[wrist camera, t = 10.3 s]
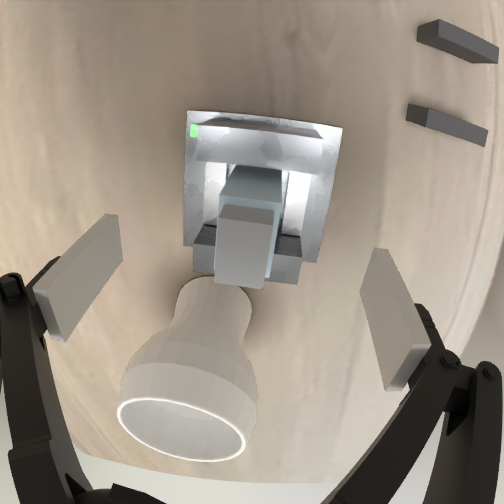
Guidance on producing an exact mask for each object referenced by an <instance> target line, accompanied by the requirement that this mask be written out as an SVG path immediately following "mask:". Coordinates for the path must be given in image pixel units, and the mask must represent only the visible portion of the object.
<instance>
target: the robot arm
mask: <svg viewBox="0 0 504 504" xmlns="http://www.w3.org/2000/svg"><path fill="white" fill-rule="evenodd" d="M122 261H123V256H122V248H121V240H120V231H119V221H118V215H111V214H105V215H104V216H103V217H102V218H101V219H100V220H98V221H97V222H96V223H95V224H94V225H93V226H92V227H91V228H90V229H89V230H88V231H87V232H86V233H85V234H84V235H83V236H82V237H81V238H79V239H78V240H77V241H76V242H75V243H74V244H73V245H72V246H71V247H70V248H69V249H68V250H67V251H66V252H65V253H64V254H63V255H62V256H58V257H56V258H54V259H53V260H51V261H49V262H48V264H47V265H46V266H45V267H44V269H42V270H41V271H40V272H39V274H37V275H36V276H35V277H34V278H33V279H32V280H31V281H30V282H29V283H28V284H27V286H26V287H25V286H24V283H23V280H22V277H21V275H20V274H18V273H8V274H6V275H3V276H2V277H0V392H1V385H2V379H3V384H4V393H5V401H6V409H7V416H8V422H9V428H10V433H11V438H12V443H13V449H12V450H9V452H8V458H9V464H10V469H11V473H12V477H13V480H14V484H15V488H16V491H17V494H18V498H19V501H20V504H166V503H164V502H162V501H160V500H158V499H156V498H154V497H152V496H150V495H148V494H146V493H144V492H140V491H137V490H134V489H130V488H127V487H124V486H121V485H118V484H114V483H113V485H112V488H111V489H97V490H93V488H92V486H91V484H90V483H89V481H88V480H87V478H86V476H85V475H84V473H83V471H82V469H81V466H80V463H79V461H78V458H77V455H76V453H75V450H74V448H73V444H72V441H71V438H70V435H69V432H68V429H67V426H66V423H65V420H64V416H63V413H62V410H61V406H60V403H59V399H58V395H57V391H56V387H55V383H54V379H53V375H52V370H51V366H50V361H49V356H48V351H47V346H46V340H45V338H44V336H43V334H44V333H45V331H46V330H47V329H48V332H49V334H50V337H51V339H54V340H57V341H60V342H63V343H65V342H66V341H67V339H68V338H69V336H70V334H71V333H72V331H73V330H74V328H75V327H76V325H77V324H78V322H79V321H80V319H81V318H82V316H83V315H84V314H85V312H86V311H87V309H88V308H89V306H90V305H91V303H92V302H93V301H94V299H95V298H96V296H97V295H98V293H99V292H100V291H101V289H102V288H103V286H104V285H105V284H106V282H107V281H108V280H109V278H110V277H111V275H112V274H113V273H114V271H115V270H116V269H117V267H118V266H119V265H120V263H121V262H122ZM360 295H361V298H362V302H363V305H364V309H365V312H366V316H367V320H368V323H369V327H370V331H371V335H372V339H373V343H374V347H375V351H376V355H377V359H378V363H379V367H380V372H381V376H382V381H383V385H384V390H385V391H402V390H403V388H404V387H405V385H406V384H407V382H408V385H409V388H410V390H409V392H408V393H407V395H406V396H405V397H404V399H403V400H402V401H401V403H400V404H399V407H398V408H397V410H396V411H395V413H394V414H393V416H392V417H391V419H390V420H389V421H388V423H387V424H386V426H385V427H384V428H383V430H382V431H381V433H380V434H379V435H378V437H377V438H376V439H375V441H374V442H373V443H372V445H371V446H370V447H369V448H368V450H367V451H366V452H365V453H364V455H363V456H362V457H361V458H360V460H359V461H358V462H357V463H356V465H355V466H354V467H353V468H352V469H351V471H350V472H349V473H348V474H347V475H346V476H345V478H344V479H343V480H342V481H341V482H340V483H339V484H338V486H337V487H336V488H335V489H334V490H333V491H332V492H331V493H330V494H329V495H328V496H327V497H326V499H325V500H324V501H323V502H322V503H321V504H388V503H389V501H390V500H391V498H392V497H393V496H394V494H395V493H396V491H397V489H398V488H399V487H400V485H401V484H402V482H403V481H404V479H405V478H406V476H407V474H408V473H409V471H410V470H411V468H412V467H413V465H414V463H415V462H416V460H417V458H418V457H419V455H420V453H421V451H422V450H423V448H424V446H425V444H426V442H427V441H428V439H429V437H430V435H431V433H432V431H433V430H434V428H435V426H436V424H437V422H438V420H439V418H440V416H441V414H442V412H443V411H444V412H445V417H444V421H443V427H442V432H441V437H440V441H439V446H438V450H437V455H436V459H435V463H434V467H433V470H432V474H431V478H430V481H429V485H428V488H427V491H426V495H425V498H424V501H423V504H494V499H495V492H496V487H497V480H498V472H499V462H500V453H501V439H502V376H501V372H500V371H499V369H498V368H497V367H496V366H495V365H494V364H492V363H491V362H488V361H483V362H480V363H479V364H478V366H477V367H476V368H475V369H474V368H471V367H467V366H464V365H462V364H461V361H460V359H459V358H458V356H457V355H456V354H454V353H453V352H451V351H449V350H446V349H445V347H444V344H443V342H442V340H441V338H440V335H439V333H438V331H437V329H436V328H435V324H434V322H433V321H432V318H431V316H430V314H429V312H428V311H427V309H426V308H425V307H424V306H423V305H422V304H416V303H413V300H412V298H411V296H410V294H409V292H408V290H407V288H406V285H405V283H404V281H403V279H402V277H401V275H400V273H399V271H398V269H397V267H396V265H395V263H394V261H393V259H392V257H391V255H390V253H389V251H388V249H381V248H374V249H373V252H372V255H371V259H370V262H369V265H368V268H367V271H366V274H365V277H364V280H363V283H362V286H361V289H360Z"/></svg>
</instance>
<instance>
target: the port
mask: <svg viewBox="0 0 504 504" xmlns="http://www.w3.org/2000/svg"><path fill="white" fill-rule="evenodd" d="M342 130H343V128H341V127H335V126H330V125H324V124H318V123H312V122H305V121H299V120H292V119H284V118H276V117H268V116H259V115H250V114H239V113H227V112H213V111H195V110H188V111H187V126H186V147H185V174H184V246H188V247H193V271H197V272H204V273H211V274H214V272H215V270H214V260H215V245H216V230H217V217H218V204H219V194H220V192H221V191H222V189H223V187H224V185H225V183H226V182H227V180H228V178H229V176H230V174H231V173H232V171H233V169H234V167H235V166H236V165H245V166H254V167H262V168H270V169H278V170H282V205H281V211H280V218H279V224H278V230H277V236H276V241H275V247H274V253H273V259H272V265H271V271H270V276H269V278H265V280H264V281H271V282H279V283H287V284H296V285H297V281H298V276H299V272H300V267H301V262H302V261H304V262H312V263H316V262H317V258H318V253H319V249H320V244H321V240H322V235H323V230H324V226H325V221H326V216H327V211H328V206H329V201H330V196H331V191H332V186H333V181H334V176H335V170H336V165H337V159H338V153H339V148H340V142H341V136H342Z"/></svg>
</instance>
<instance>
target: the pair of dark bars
mask: <svg viewBox="0 0 504 504" xmlns="http://www.w3.org/2000/svg"><path fill="white" fill-rule="evenodd" d="M417 41H418V42H421V43H423V44H426V45H429V46H432V47H434V48H437V49H440V50H442V51H445V52H447V53H450V54H452V55H454V56H457V57H459V58H461V59H464V60H466V61H468V62H470V63H494V64H498V56H499V47H497V46H495V45H493V44H491V43H489V42H488V41H486V40H484V39H482V38H480V37H478V36H476V35H474V34H472V33H470V32H467V31H465V30H463V29H461V28H459V27H457V26H454V25H452V24H450V23H447V22H445V21H443V20H440V19H438V20H435V21H432V22H429V23H426V24H424V25H421V26H418V34H417ZM406 120H407V121H410V122H413V123H415V124H418V125H421V126H424V127H427V128H430V129H433V130H437V131H440V132H443V133H446V134H449V135H452V136H455V137H458V138H461V139H464V140H466V141H469V142H472V143H475V144H477V145H480V146H483V147H485V143H486V139H487V134H488V130H486V129H484V128H482V127H479V126H477V125H474V124H472V123H469V122H466V121H464V120H461V119H458V118H456V117H453V116H450V115H447V114H444V113H441V112H438V111H435V110H432V109H429V108H425V107H421V106H416V105H411V104H408V110H407V116H406Z"/></svg>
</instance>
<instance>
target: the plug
mask: <svg viewBox="0 0 504 504" xmlns="http://www.w3.org/2000/svg"><path fill="white" fill-rule="evenodd" d="M281 205H282V170H278V169H270V168H262V167H254V166H245V165H236V166H235V167H234V169H233V171H232V173H231V174H230V176H229V178H228V180H227V182H226V183H225V185H224V187H223V189H222V191H221V192H220V194H219V204H218V217H217V230H216V245H215V260H214V270H215V272H214V282H215V283H221V284H228V285H234V286H241V287H248V288H255V289H262V290H263V286H264V280H265V278H269V276H270V271H271V265H272V259H273V253H274V247H275V241H276V236H277V230H278V224H279V218H280V211H281Z"/></svg>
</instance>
